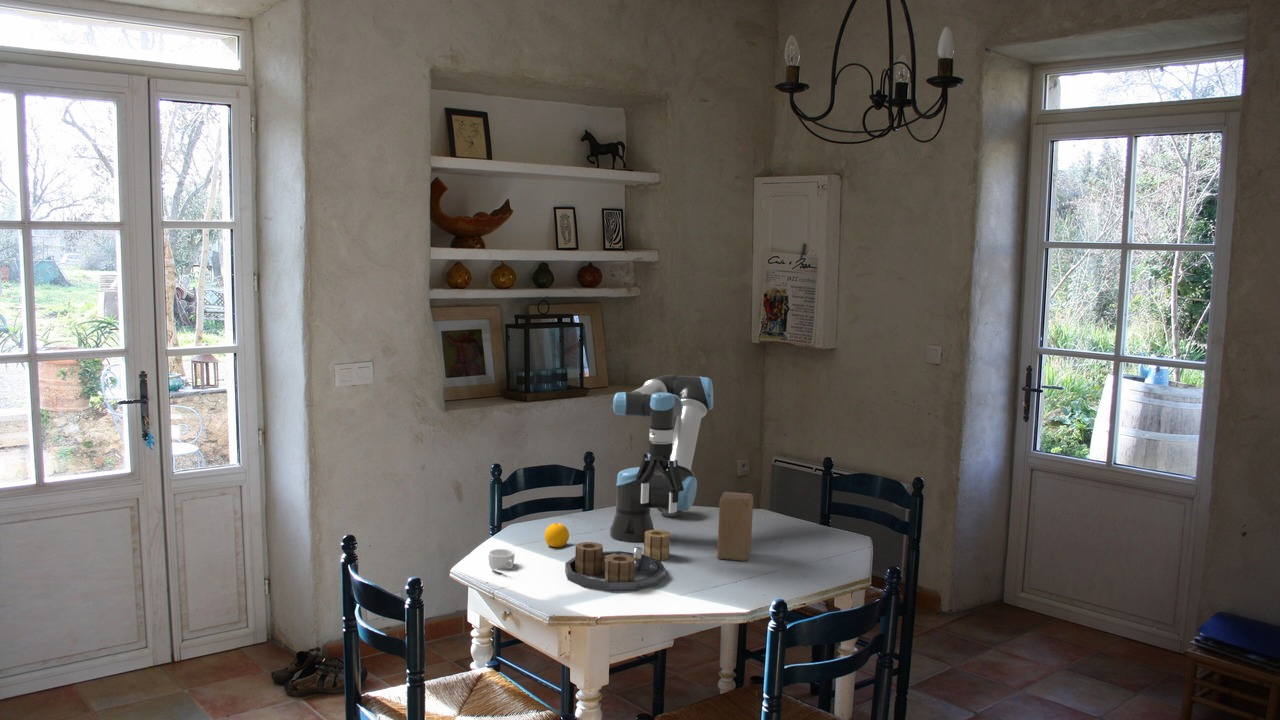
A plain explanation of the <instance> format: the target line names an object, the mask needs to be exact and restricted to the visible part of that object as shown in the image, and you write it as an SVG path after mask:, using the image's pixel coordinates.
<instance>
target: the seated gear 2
mask: <svg viewBox="0 0 1280 720" xmlns="http://www.w3.org/2000/svg"><path fill="white" fill-rule="evenodd" d="M634 569H635V559H634V558H633V557H632V556H629V555H623V554H622V555H620V554H616V555H609V556H608V557H606V559H605V581H634Z"/></svg>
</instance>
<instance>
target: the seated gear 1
mask: <svg viewBox="0 0 1280 720" xmlns="http://www.w3.org/2000/svg"><path fill="white" fill-rule="evenodd" d="M603 552H604V547H603V544H602V543H599V542H593V541H584V542H583V541H581V542H579V543H576V544H575V553H574V554H575V556H574V557H575V572H576V573H580V574H585V575H593V574H598V573H601V572H602V560H603Z"/></svg>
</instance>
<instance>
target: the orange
mask: <svg viewBox="0 0 1280 720" xmlns="http://www.w3.org/2000/svg"><path fill="white" fill-rule="evenodd" d="M569 538H570V532H569V530H568V528H567V527H566V525H564V524H563V523H559V522H555V523H551V524H550V525H548V526H547V527H546V529H545V531H544V540H545V542H546V544H547V545H548V546H550V547H554V548H561V547H564V546H565V545H566V544H568V541H569Z"/></svg>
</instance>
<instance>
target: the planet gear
mask: <svg viewBox="0 0 1280 720" xmlns="http://www.w3.org/2000/svg"><path fill="white" fill-rule="evenodd" d="M643 543H644V544H643V554H644V555H646V556H649V557H651V558H654V559H657V560H659V561H664V560H668V559H669V558H670V550H671V549H670V548H671V547H670V545H671V544H670V543H671V532H669V531H666V530H662V529H654V530H649V531H646V532H645V536H644V541H643Z"/></svg>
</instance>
